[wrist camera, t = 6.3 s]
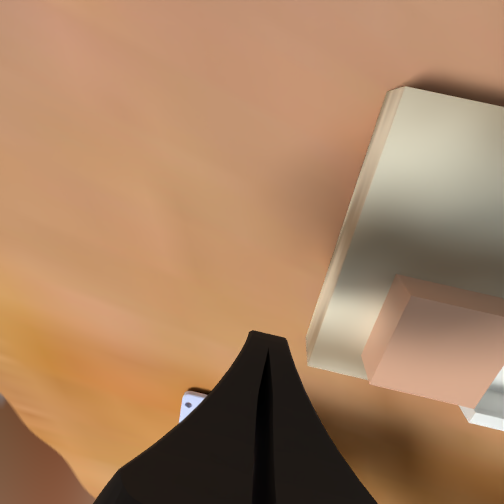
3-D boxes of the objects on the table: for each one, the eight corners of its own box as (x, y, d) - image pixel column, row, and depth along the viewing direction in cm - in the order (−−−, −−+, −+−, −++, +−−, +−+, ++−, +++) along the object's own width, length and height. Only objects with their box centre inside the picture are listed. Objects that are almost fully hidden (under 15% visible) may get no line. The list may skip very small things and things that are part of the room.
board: (448, 370, 20) (469, 404, 17) (305, 337, 20) (307, 365, 18) (587, 134, 14) (646, 136, 12) (386, 91, 14) (405, 86, 12)
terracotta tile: (454, 377, 17) (474, 409, 15) (361, 355, 17) (369, 384, 15) (502, 297, 15) (532, 323, 13) (396, 273, 15) (411, 295, 13)
